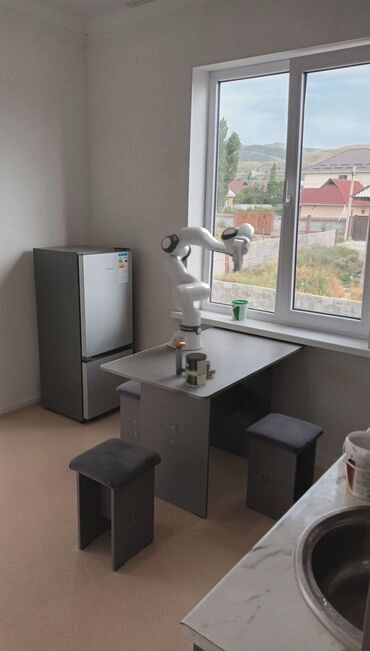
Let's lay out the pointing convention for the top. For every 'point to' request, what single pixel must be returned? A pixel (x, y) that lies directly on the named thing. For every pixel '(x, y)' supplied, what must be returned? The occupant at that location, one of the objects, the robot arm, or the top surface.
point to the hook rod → (179, 358)
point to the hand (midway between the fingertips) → (233, 266)
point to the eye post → (208, 375)
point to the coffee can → (196, 369)
